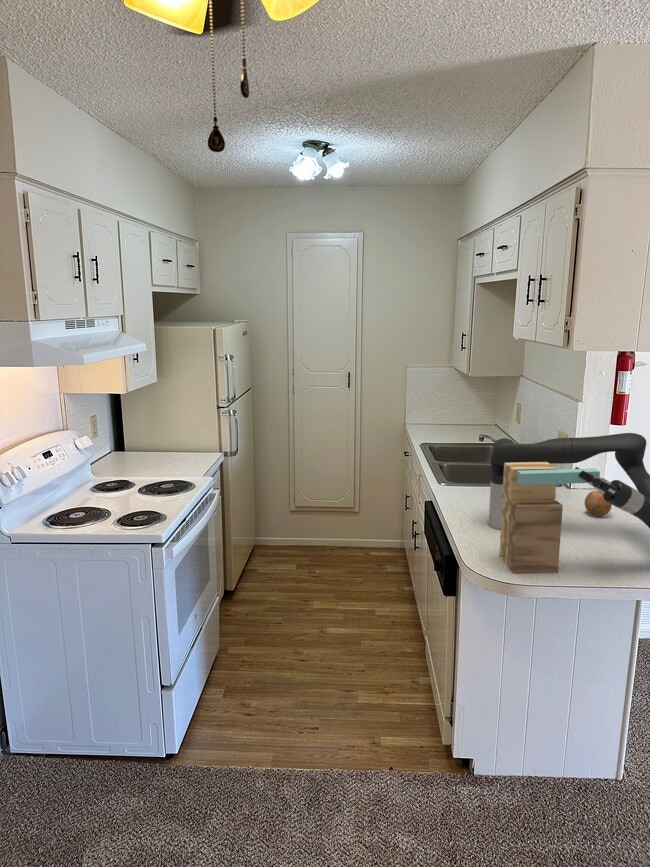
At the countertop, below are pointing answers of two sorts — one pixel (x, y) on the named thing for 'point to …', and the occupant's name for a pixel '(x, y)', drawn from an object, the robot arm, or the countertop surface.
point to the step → (535, 536)
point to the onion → (597, 504)
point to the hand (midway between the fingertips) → (577, 471)
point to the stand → (520, 496)
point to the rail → (554, 476)
